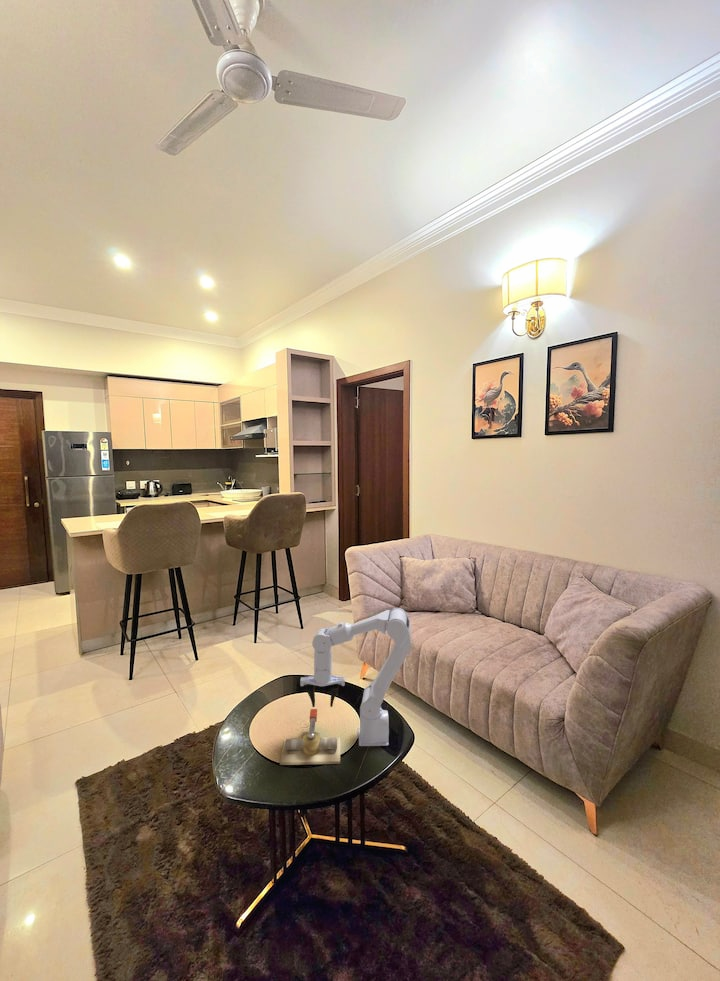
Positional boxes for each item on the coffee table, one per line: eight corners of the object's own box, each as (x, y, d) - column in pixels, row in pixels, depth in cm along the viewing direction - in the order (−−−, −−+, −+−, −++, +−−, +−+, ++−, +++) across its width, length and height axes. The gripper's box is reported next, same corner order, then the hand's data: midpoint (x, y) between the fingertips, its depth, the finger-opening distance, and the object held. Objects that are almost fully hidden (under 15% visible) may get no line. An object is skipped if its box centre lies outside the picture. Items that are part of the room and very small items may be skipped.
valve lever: (315, 739, 123) (315, 734, 123) (307, 740, 123) (307, 734, 123) (317, 714, 135) (317, 709, 135) (310, 714, 135) (310, 709, 135)
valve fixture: (340, 739, 130) (340, 726, 130) (340, 763, 120) (340, 748, 120) (284, 740, 129) (284, 726, 129) (279, 764, 119) (279, 749, 119)
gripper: (344, 659, 136) (344, 697, 137) (301, 660, 135) (301, 698, 137) (344, 670, 129) (344, 710, 130) (299, 671, 128) (299, 711, 130)
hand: (322, 705), depth 133 cm, fingers open, 5 cm apart
